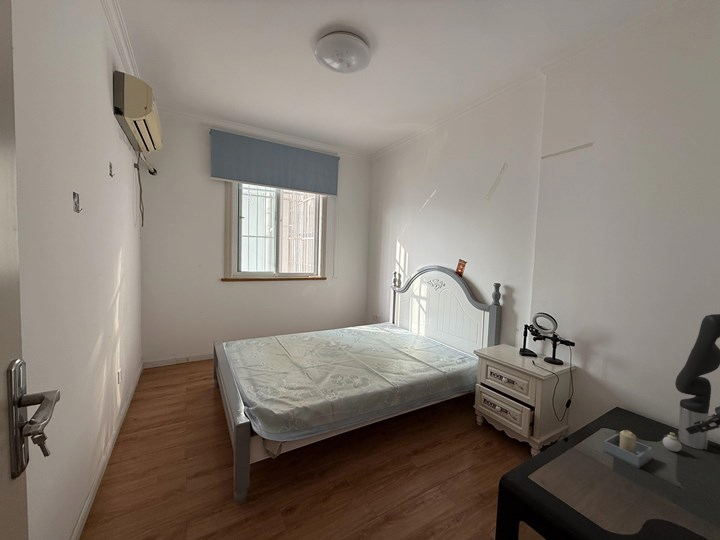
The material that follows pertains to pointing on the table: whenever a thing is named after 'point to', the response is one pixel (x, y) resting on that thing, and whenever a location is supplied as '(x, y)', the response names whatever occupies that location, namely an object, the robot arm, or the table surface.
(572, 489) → the table surface
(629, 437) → the candle
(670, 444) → the ornament
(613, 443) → the tray
